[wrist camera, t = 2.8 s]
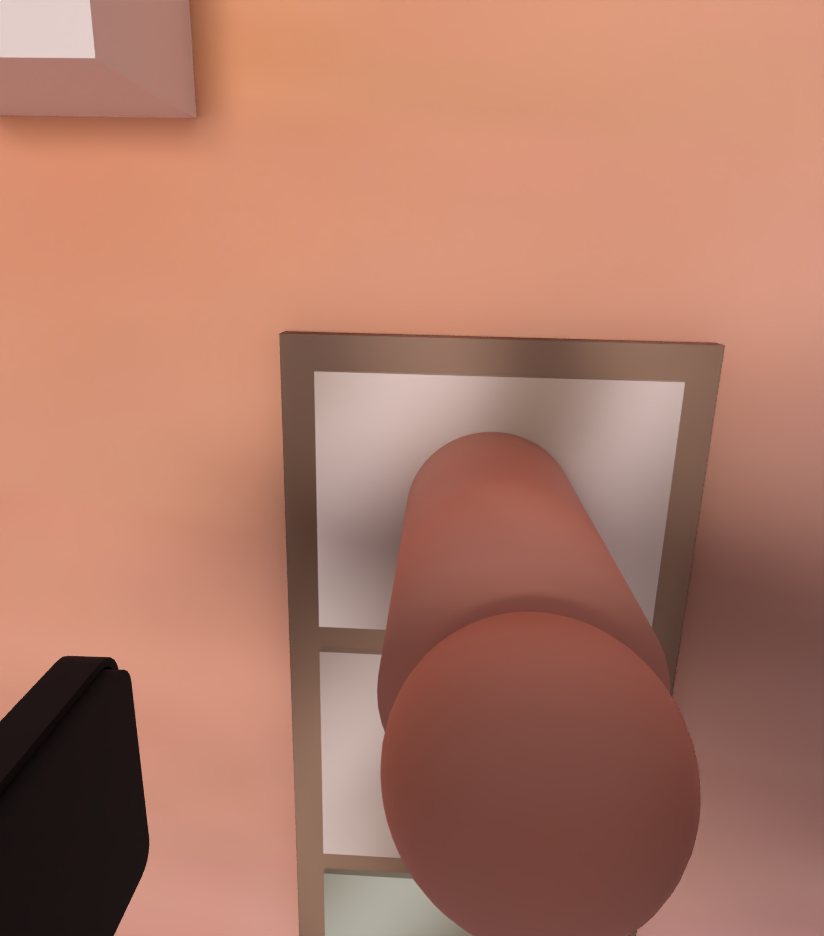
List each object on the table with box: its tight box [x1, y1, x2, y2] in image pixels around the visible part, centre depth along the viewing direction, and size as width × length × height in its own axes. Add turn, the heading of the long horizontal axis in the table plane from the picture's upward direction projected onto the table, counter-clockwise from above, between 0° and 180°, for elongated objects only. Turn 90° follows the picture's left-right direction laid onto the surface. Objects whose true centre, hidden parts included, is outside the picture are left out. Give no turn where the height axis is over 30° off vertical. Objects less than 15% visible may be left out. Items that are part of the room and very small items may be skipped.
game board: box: [279, 331, 725, 936], centre depth 21 cm, size 11×25×1 cm, turn 179°
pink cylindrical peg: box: [377, 432, 700, 936], centre depth 12 cm, size 4×4×12 cm
